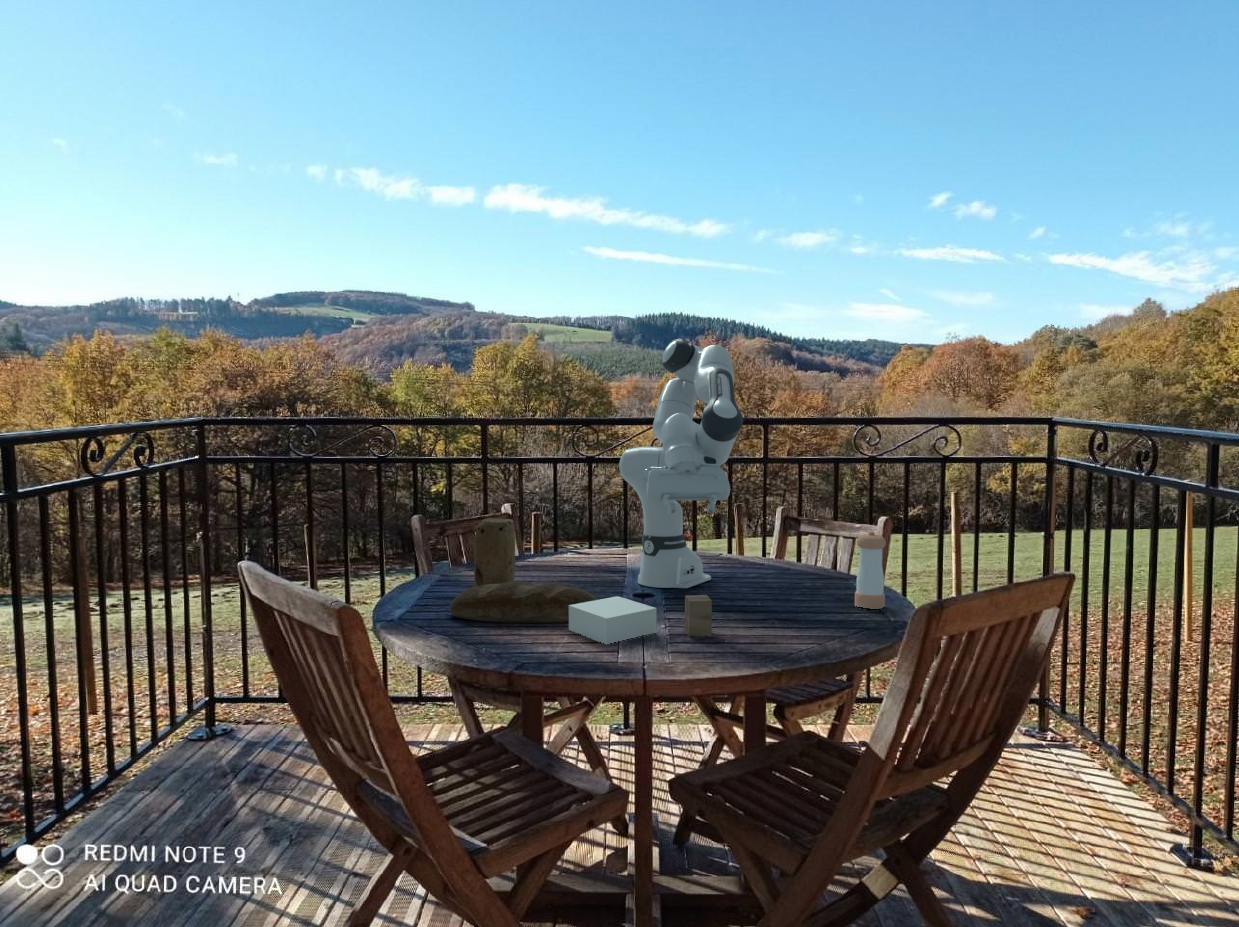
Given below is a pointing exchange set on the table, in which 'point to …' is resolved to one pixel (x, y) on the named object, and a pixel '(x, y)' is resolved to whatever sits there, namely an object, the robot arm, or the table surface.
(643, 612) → the painted base block
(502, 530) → the block
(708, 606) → the walnut block
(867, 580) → the pepper shaker
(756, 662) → the table surface
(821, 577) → the table surface
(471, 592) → the bread
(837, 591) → the table surface
